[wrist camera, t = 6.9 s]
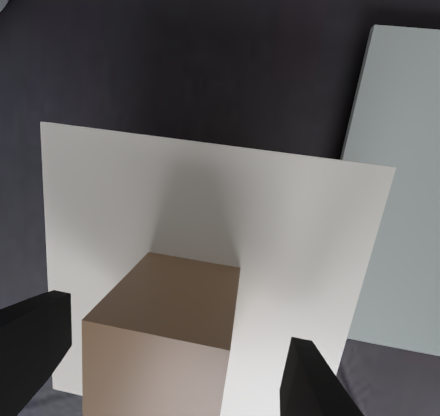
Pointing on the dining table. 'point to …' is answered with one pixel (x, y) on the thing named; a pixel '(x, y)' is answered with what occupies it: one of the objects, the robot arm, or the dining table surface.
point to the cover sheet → (217, 223)
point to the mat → (401, 187)
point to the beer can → (3, 4)
